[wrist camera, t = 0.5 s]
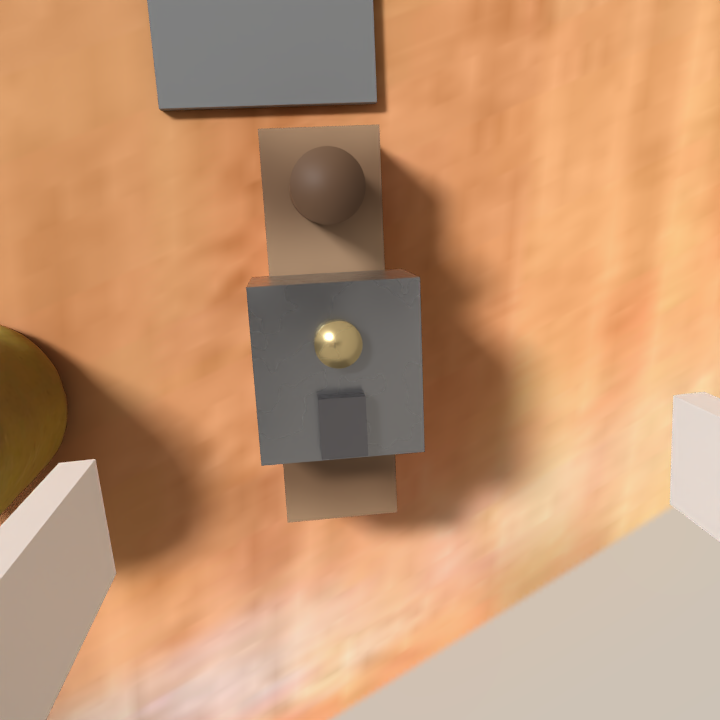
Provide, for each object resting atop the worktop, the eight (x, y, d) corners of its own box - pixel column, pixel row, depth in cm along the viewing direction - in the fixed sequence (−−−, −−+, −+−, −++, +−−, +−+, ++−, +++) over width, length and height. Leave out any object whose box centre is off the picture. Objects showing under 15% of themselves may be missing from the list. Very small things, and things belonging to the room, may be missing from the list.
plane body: (380, 467, 35) (406, 538, 27) (287, 475, 35) (288, 550, 27) (366, 137, 31) (392, 111, 24) (261, 141, 31) (254, 116, 23)
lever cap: (406, 421, 30) (428, 458, 25) (264, 432, 29) (260, 472, 25) (401, 268, 28) (423, 278, 24) (251, 277, 28) (245, 289, 23)
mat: (161, 110, 30) (159, 108, 30) (140, -84, 28) (137, -90, 28) (375, 103, 31) (376, 101, 31) (367, -85, 29) (369, -91, 29)
